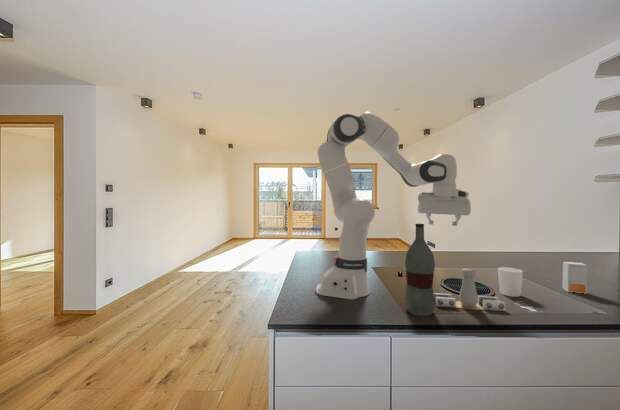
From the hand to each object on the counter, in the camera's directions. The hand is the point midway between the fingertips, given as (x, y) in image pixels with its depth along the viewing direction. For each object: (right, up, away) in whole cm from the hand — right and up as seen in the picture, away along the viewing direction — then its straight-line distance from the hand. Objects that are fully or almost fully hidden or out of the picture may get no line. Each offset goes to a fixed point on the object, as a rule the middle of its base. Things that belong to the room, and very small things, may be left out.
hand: (442, 225), depth 109 cm
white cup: (+25, -28, -5) cm, 37 cm away
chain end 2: (+8, -28, -18) cm, 34 cm away
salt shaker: (0, -28, -17) cm, 33 cm away
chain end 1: (-8, -28, -15) cm, 33 cm away
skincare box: (+54, -28, -3) cm, 60 cm away
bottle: (-19, -28, -21) cm, 40 cm away
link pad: (0, -28, -17) cm, 33 cm away
